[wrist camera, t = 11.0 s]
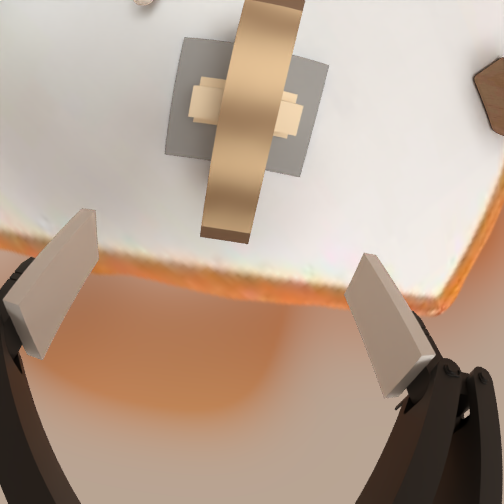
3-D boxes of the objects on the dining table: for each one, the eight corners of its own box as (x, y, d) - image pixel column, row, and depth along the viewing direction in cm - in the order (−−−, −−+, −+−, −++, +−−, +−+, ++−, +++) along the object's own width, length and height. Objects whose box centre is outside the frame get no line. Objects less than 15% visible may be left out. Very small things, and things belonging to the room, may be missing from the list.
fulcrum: (186, 38, 25) (172, 27, 19) (326, 65, 27) (347, 62, 21) (166, 152, 32) (150, 168, 26) (298, 174, 35) (310, 195, 29)
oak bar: (246, 8, 19) (248, -12, 14) (291, 17, 19) (305, 0, 14) (206, 207, 29) (199, 236, 24) (246, 213, 30) (248, 244, 24)
